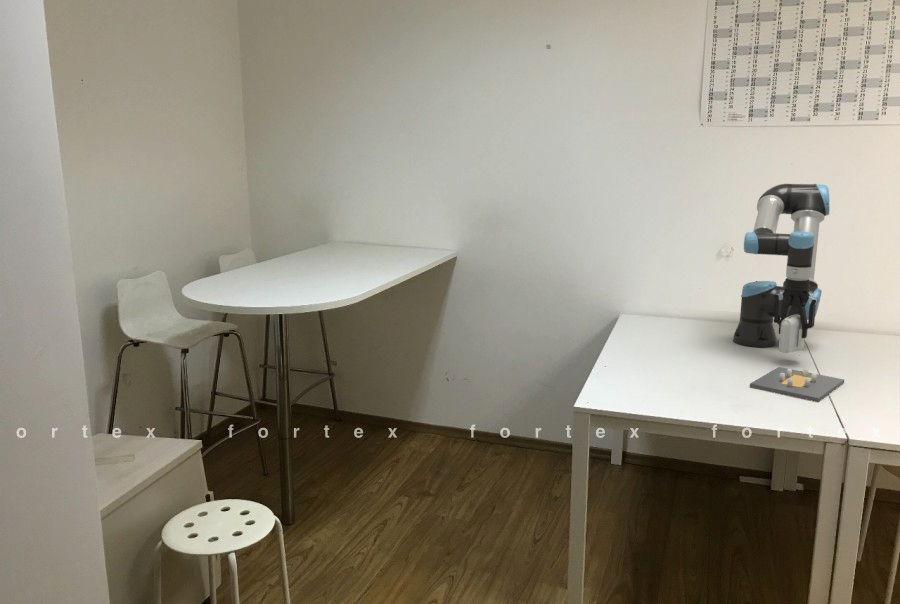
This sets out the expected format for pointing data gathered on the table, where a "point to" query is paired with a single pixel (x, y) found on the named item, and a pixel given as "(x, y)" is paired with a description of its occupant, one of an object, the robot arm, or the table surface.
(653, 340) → the table surface
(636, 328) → the table surface
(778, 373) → the pin tray
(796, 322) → the photo printer
